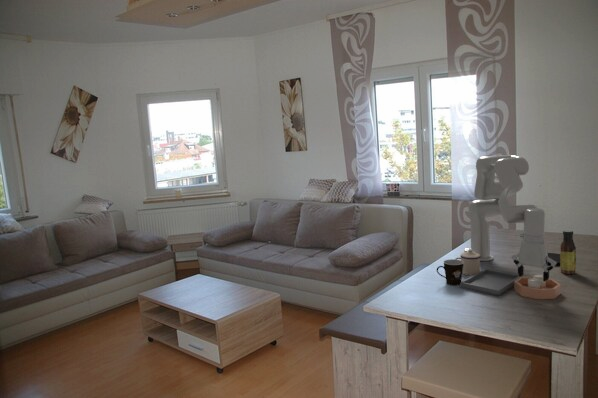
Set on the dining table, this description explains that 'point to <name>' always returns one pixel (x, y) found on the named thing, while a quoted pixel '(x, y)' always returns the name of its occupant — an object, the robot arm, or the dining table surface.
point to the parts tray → (490, 282)
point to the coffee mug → (452, 271)
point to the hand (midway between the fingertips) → (533, 278)
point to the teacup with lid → (470, 262)
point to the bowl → (549, 293)
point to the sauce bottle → (568, 253)
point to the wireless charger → (554, 258)
